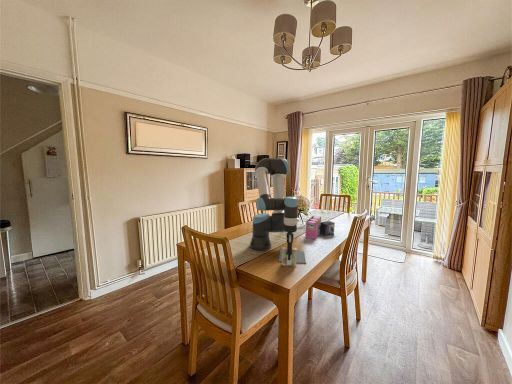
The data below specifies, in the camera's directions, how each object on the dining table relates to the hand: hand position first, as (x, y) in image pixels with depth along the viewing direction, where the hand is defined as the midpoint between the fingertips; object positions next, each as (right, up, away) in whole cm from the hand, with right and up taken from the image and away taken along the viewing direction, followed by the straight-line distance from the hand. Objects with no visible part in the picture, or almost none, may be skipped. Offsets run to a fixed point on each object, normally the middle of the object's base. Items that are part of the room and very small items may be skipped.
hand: (288, 263), depth 125 cm
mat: (+4, 0, +12) cm, 12 cm away
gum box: (+29, +5, +56) cm, 63 cm away
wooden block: (0, -1, 0) cm, 1 cm away
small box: (+41, +5, +57) cm, 71 cm away
